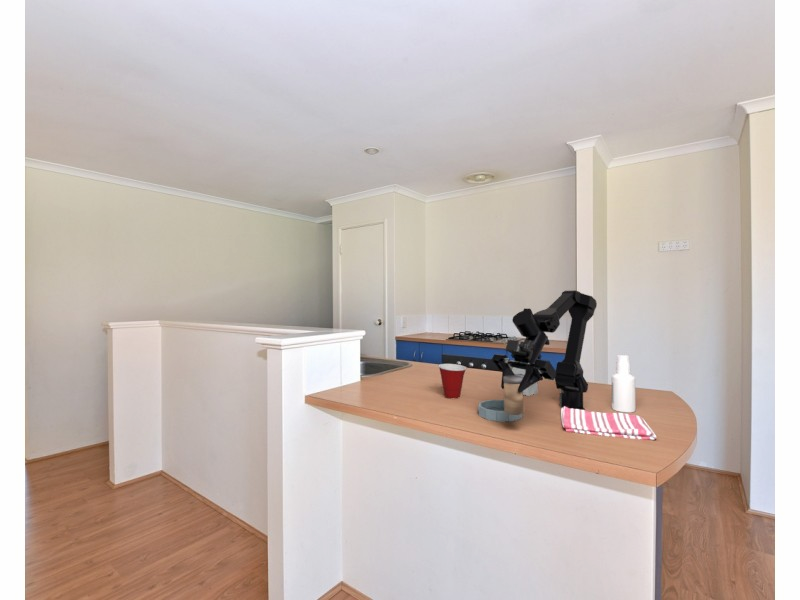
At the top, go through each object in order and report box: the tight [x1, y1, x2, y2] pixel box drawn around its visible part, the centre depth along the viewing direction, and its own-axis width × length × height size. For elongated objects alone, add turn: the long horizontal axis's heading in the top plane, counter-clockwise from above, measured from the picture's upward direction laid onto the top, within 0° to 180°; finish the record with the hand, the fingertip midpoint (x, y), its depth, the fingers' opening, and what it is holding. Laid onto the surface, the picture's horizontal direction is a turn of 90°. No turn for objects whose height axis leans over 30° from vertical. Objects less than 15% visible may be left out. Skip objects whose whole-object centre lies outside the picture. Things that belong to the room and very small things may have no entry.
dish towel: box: [560, 406, 657, 441], centre depth 115 cm, size 17×23×4 cm
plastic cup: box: [438, 363, 468, 399], centre depth 150 cm, size 11×11×12 cm
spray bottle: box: [611, 354, 636, 414], centre depth 130 cm, size 7×7×18 cm
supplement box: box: [512, 367, 539, 397], centre depth 153 cm, size 7×7×13 cm
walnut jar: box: [503, 375, 524, 415], centre depth 112 cm, size 5×5×10 cm
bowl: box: [477, 399, 524, 422], centre depth 127 cm, size 14×14×3 cm
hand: (510, 389), depth 111 cm, fingers closed on walnut jar, 5 cm apart
